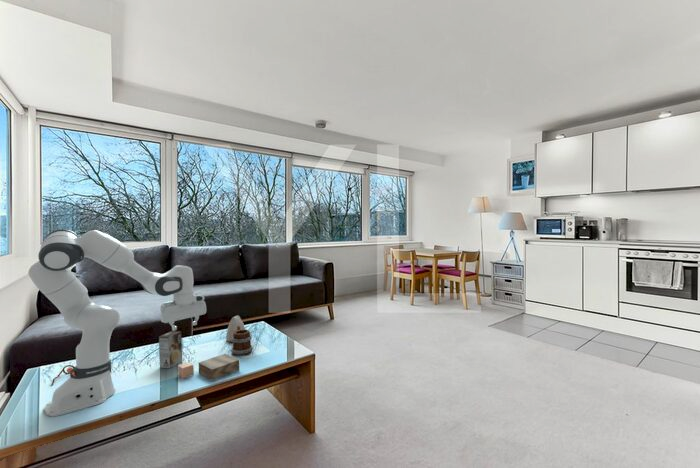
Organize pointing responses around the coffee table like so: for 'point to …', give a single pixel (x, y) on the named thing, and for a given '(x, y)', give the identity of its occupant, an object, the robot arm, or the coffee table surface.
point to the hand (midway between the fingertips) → (184, 327)
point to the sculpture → (234, 327)
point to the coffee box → (170, 349)
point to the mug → (241, 342)
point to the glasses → (61, 372)
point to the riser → (218, 366)
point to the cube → (185, 370)
